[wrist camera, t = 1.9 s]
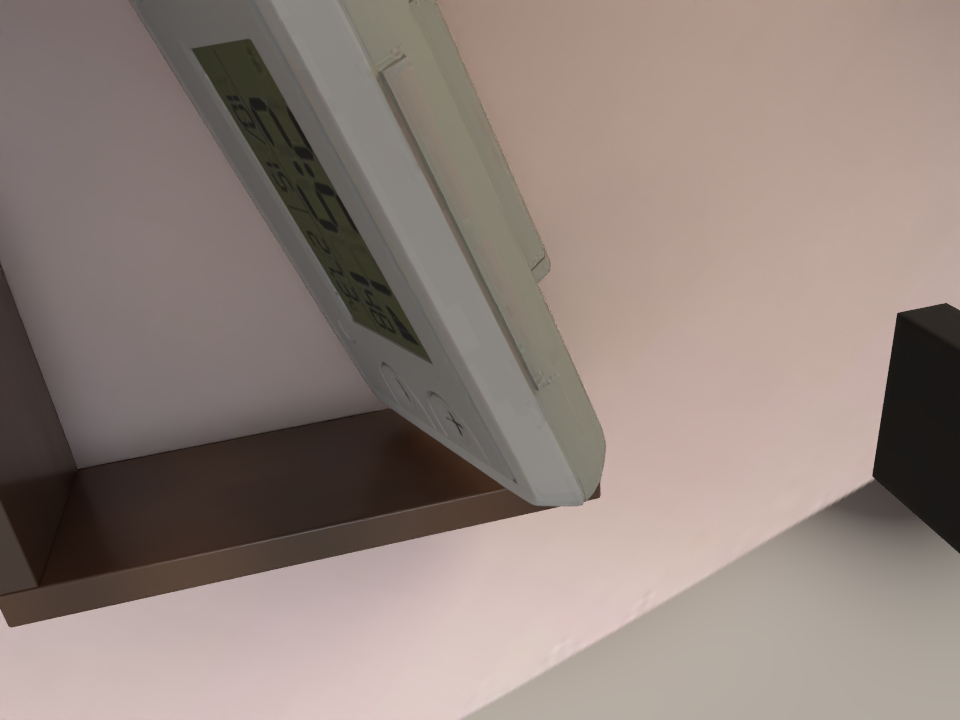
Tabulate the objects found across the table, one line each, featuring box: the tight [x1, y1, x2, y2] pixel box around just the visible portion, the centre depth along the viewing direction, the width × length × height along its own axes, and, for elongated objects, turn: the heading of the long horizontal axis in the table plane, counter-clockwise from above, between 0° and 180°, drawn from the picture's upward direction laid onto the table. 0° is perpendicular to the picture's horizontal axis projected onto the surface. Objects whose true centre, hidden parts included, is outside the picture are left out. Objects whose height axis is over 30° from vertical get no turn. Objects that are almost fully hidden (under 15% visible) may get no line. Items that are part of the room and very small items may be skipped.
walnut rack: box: [0, 266, 601, 627], centre depth 23 cm, size 18×20×6 cm
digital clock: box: [129, 0, 606, 506], centre depth 22 cm, size 16×9×11 cm, turn 13°
